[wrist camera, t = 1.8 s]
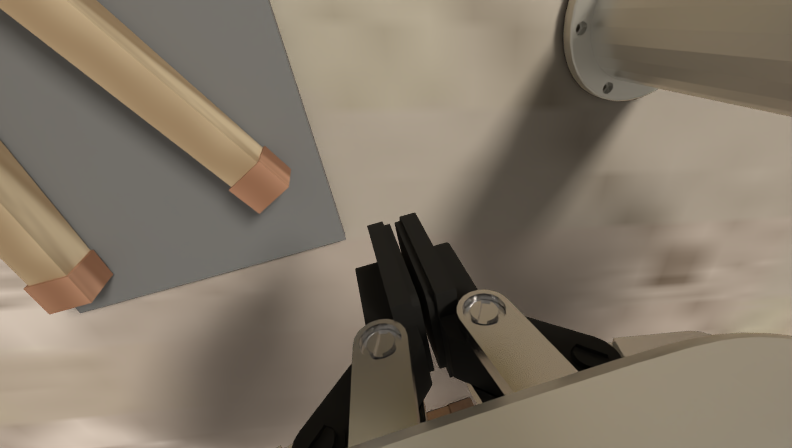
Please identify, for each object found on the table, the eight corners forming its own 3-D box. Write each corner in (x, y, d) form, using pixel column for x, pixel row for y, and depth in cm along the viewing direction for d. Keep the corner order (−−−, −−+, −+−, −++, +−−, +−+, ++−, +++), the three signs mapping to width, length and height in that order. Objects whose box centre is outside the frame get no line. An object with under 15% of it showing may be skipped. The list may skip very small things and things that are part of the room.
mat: (132, -422, 14) (121, -449, 13) (344, 233, 31) (345, 239, 30) (-509, -342, 12) (-570, -369, 12) (86, 304, 29) (80, 313, 29)
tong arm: (-326, -382, 12) (-530, -509, 9) (291, 169, 26) (288, 188, 23) (-385, -240, 13) (-586, -313, 10) (238, 217, 27) (230, 241, 24)
